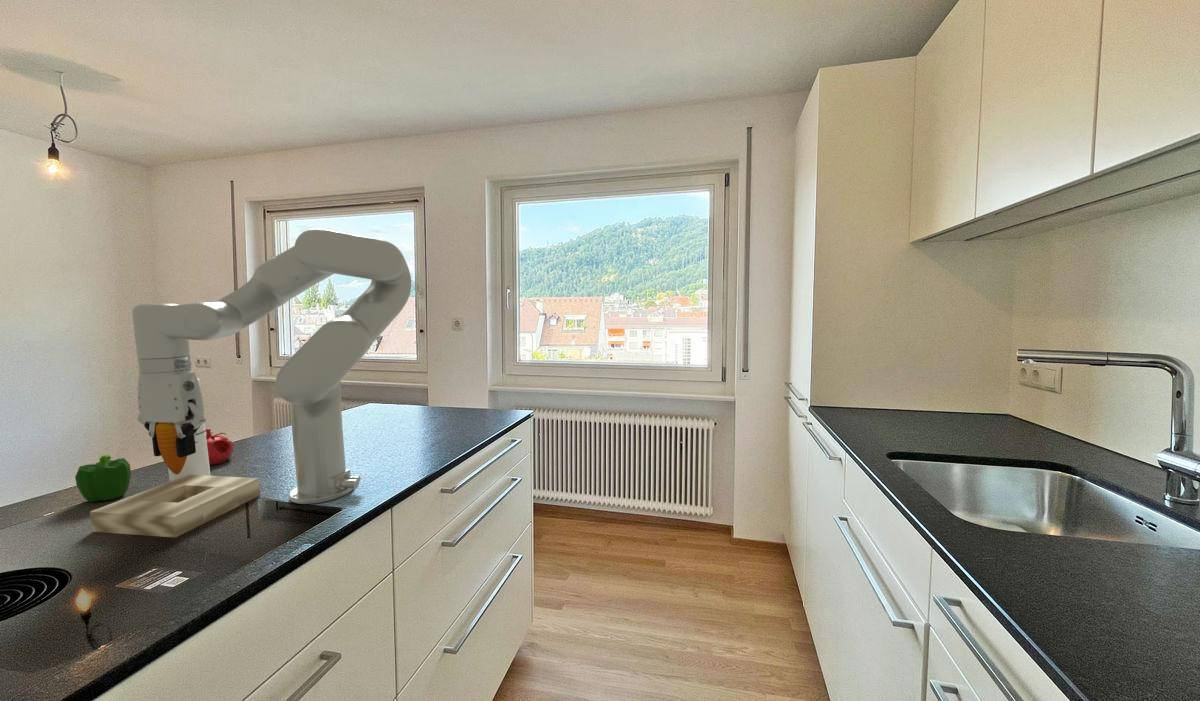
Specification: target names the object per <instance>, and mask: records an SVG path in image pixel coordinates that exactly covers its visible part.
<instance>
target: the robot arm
mask: <svg viewBox="0 0 1200 701" xmlns="http://www.w3.org/2000/svg"><path fill="white" fill-rule="evenodd" d="M334 274H335V275H341V276H347V277H348V276H349V277H354V278H359V279H366V280H371V281H370V284H369V285H368V287H367V289H366V290H364V292H362V293H361V295H360V296H358V297H357V299H356V300H355V301H354V303H352V304H351V306H349V307H348V308H347V309H346V310H345V311H344V313H342V314H341V315H340V316H338V317H337V318H334V319H332V320H329V321H327V322H325V323H324V324H323V325H321V326H320V328H319V329H317V331H316V332H314V334H313V335H312V336H311V337H310V338H309V339H308V340H307V341H306V342H304V344H303V345H302V346H300V348H299V349H298V350H297V351H296V352H295V353H294V354H293V355H291V357H290V358H289V359H288V360H287V361H286V362H285V363H284V364H283V366H282V367H281V368H280V369H279V371H278V372H277V374H276V378H275V388H276V389H275V390H276V391H277V393H278V395H279V396H280V397H281V398H282V399H283V401H285V402H286V403H288V404H290V419H291V420H290V421H291V422H290V423H291V434H292V444H293V455H294V466H295V478H296V486H295V487H294V488H293V489H292V490H291V491H290V492H289V494H288V496H289V497H288V498H289V500H290V501H291V502H292V503H295V504H299V505H300V504H301V505H308V504H309V505H311V504H318V503H319V504H320V503H325V502H328V501H334V500H335V499H338V498H341V497H343V496H346V495H347V494H349V493H351V492H352V490H355V489H358V487H359V486H360V482H361V479H362V478H361V476H360V475H353V476H352V475H351V469H350V468H347V467H346V456H345V454H346V453H345V442H344V430H343V428H344V427H343V413H342V379H344V377H345V376H346V375H347V374H348V373H349V372H350V370H352V369H353V367H354V366H355V365H357V363H358V362H360V360H361V359H362V358H363V357H364V356H365V354H366V353H367V352H368V351H369V349H370V348H371V346H372V344H374V343H375V341H376V340H377V339H378V337H380V335H381V334H382V333H383V332H384V331H385V330H386V329H387V328H388V327H389V326H390V324H391V323H393V321H394V320H395V319H396V318H397V316H398V315H399V314H400V313H401V311H403V309H404V308H405V306H406V304H407V302H408V300H409V298H410V294H411V290H412V277H411V273H410V269H409V266H408V264H407V261H406V259H405V256H404V254H403V253H402V251H401V250H400V249H399V248H398V247H397V246H396V245H395V244H393V243H392V242H389V241H387V240H383V239H379V238H373V237H368V236H362V235H356V234H351V233H347V232H341V231H336V230H332V229H327V228H321V227H318V228H315V227H314V228H309V229H307V230H305V231H303V232H302V233H300V234H299V235H298V236H297V238H296V239H295V243H294V245H293V246H291V247H290V248H288V249H286V250H284V251H282V252H281V253H278V254H277V255H275V256H273V257H272V258H270V259H268V260H267V261H265V262H263V263H260V264H259V265H258V266H257V267H256V268H255V270H254V272H253V275H252V277H251V278H250V279H249V280H248V281H247V282H246V283H245V284H243V285H242V286H241V287H239V288H237V289H236V290H234V291H232V292H230V293H229V294H227V295H225V296H224V297H222V298H220V299H218V300H216V301H202V302H191V303H183V304H182V303H181V304H178V303H166V302H165V303H160V302H159V303H154V302H153V303H139V304H137V305H135V306H133V309H132V312H131V314H132V321H133V322H132V323H133V331H134V340H135V346H136V354H137V355H136V357H137V365H138V372H139V373H138V379H137V380H138V381H137V382H138V383H137V404H138V411H139V413H138V416H137V421H138V422H139V423H140V424H142V425H143V426H144V428H145V429H146V430H147V432H148V436H149V437H150V438H151V440H152V441H151V442H152V450H153V456H154V457H160V456H161V453H160V450H159V446H158V441H157V435H156V426H157V425H158V424H159V423H174V425H175V428H176V431H177V434H178V437H179V438H176V448H177V456H178V457H179V458H182V457H185V456H188V455H191V454H194V453H195V452H196V447H195V437H194V434H196V433H197V430H198V429H199V427H200V426H201V425H202V424H203V423H205V422H207V420H206V418H205V406H204V400H203V394H202V389H201V390H200V388H201V385H200V386H199V382H198V379H199V378H198V376H197V374H196V372H195V371H193V369H192V362H191V356H190V355H191V354H190V351H191V350H190V344H189V340H190V341H211V340H215V339H220V338H225V337H230V336H232V335H235V334H236V333H239V332H240V331H242V330H244V329H246V328H247V327H249V326H251V325H252V324H254V323H256V322H258V321H259V320H261V319H262V318H265V317H266V316H268V315H269V314H270V313H272V312H273V311H275V310H277V309H278V308H279V307H282V306H283V305H285V304H286V303H288V302H289V301H291V300H292V299H294V298H295V297H297V296H298V295H300V294H302V293H304V292H305V291H307V290H309V289H310V288H312V287H313V286H315V285H317V284H319V283H320V282H322V281H324V280H325V279H327V278H329V277H331V276H332V275H334ZM197 378H198V379H197ZM185 420H186V421H185ZM182 424H187V426H186V427H185V429H184V428H183V425H182ZM161 457H162V456H161Z"/></svg>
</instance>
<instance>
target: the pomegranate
mask: <svg viewBox="0 0 1200 701" xmlns="http://www.w3.org/2000/svg"><path fill="white" fill-rule="evenodd" d="M205 432H206V441H207V449H208V458H209V466H215V465H218V464H222V463H224V462H227V460H229V459H230V458H231V457H232V455H233V452H234V447H235V446H234V443H233V441H231V440H230V439H229V438H228V437H226V436H223V435H226V433H224V432H220V433H218V434H214V435H212V434H213V433H214V431H213V430H211V428H209V427H207V428H205Z"/></svg>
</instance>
